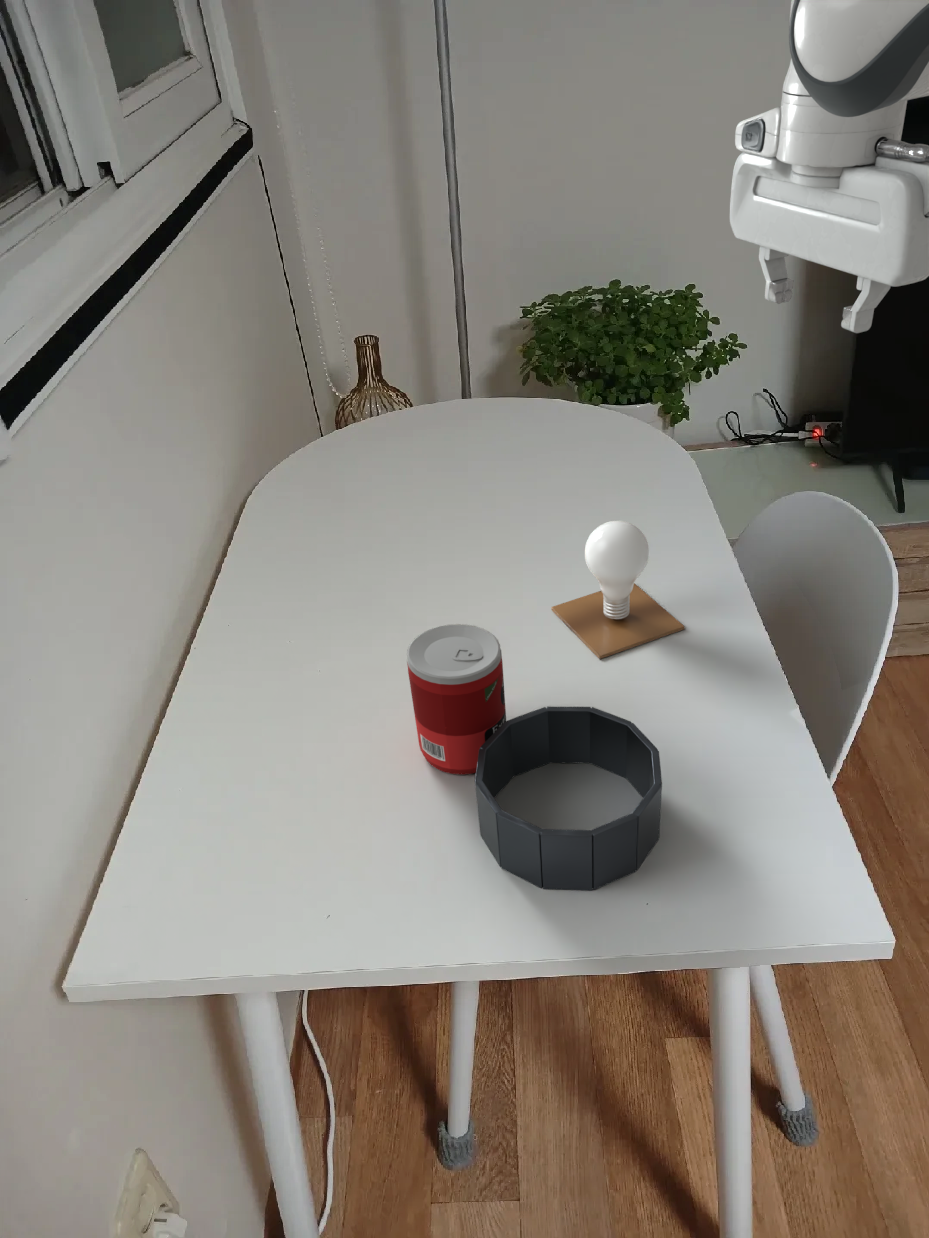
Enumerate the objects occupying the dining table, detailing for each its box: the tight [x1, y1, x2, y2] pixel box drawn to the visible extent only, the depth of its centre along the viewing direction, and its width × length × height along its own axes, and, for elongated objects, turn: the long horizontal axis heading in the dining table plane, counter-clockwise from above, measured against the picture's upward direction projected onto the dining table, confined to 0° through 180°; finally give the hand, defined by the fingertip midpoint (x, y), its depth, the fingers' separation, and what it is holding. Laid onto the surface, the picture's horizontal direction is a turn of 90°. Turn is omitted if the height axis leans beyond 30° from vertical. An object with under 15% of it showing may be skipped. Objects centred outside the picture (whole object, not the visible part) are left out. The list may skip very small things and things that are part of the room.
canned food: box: [406, 623, 507, 775], centre depth 82 cm, size 8×8×11 cm
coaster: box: [550, 582, 685, 660], centre depth 99 cm, size 10×10×1 cm
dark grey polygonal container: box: [474, 705, 663, 891], centre depth 76 cm, size 14×14×6 cm
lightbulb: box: [584, 520, 650, 619], centre depth 96 cm, size 6×6×11 cm
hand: (814, 314), depth 80 cm, fingers open, 8 cm apart
